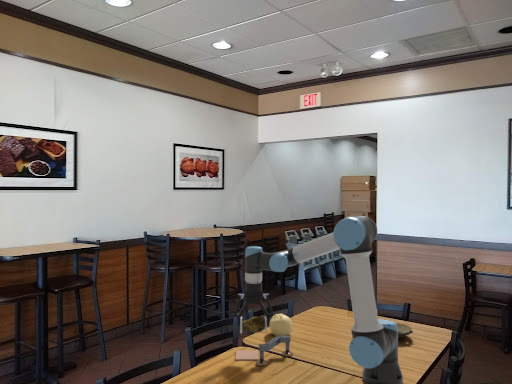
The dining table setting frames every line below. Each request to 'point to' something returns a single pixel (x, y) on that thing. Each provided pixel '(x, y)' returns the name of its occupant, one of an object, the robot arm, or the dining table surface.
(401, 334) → the oil lamp
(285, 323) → the cream lumpy ball
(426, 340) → the dining table surface
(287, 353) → the rail
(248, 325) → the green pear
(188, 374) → the dining table surface
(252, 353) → the plate
